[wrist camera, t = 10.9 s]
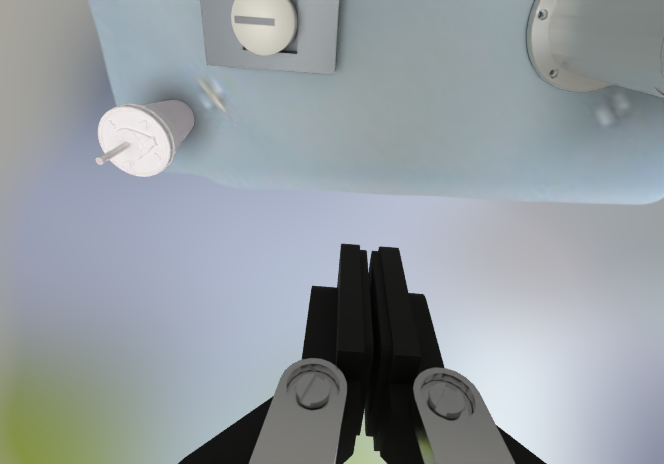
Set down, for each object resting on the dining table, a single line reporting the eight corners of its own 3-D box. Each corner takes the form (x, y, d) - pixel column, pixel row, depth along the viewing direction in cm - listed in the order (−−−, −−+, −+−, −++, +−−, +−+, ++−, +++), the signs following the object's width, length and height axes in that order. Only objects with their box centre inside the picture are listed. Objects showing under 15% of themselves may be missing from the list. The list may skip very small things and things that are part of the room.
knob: (301, -10, 33) (293, -14, 28) (300, 51, 36) (292, 57, 31) (245, -14, 33) (228, -19, 28) (248, 48, 36) (232, 53, 31)
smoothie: (139, 90, 40) (47, 123, 27) (196, 82, 39) (128, 113, 27) (160, 148, 43) (86, 201, 31) (214, 142, 42) (159, 193, 30)
